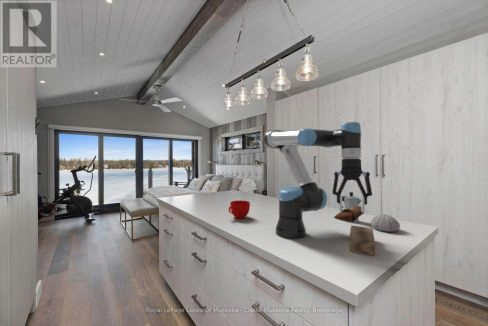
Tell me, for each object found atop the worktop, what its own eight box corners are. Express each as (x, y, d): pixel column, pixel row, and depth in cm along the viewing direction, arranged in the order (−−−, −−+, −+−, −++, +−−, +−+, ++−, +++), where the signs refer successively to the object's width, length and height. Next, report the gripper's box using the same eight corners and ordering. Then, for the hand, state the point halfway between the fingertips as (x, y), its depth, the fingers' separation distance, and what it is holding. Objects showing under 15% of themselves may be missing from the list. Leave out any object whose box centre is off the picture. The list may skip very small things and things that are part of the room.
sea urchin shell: (368, 230, 114) (368, 215, 114) (372, 224, 124) (373, 210, 124) (398, 235, 105) (399, 219, 105) (400, 229, 115) (400, 214, 115)
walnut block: (349, 252, 86) (349, 237, 86) (351, 237, 103) (351, 225, 103) (374, 256, 82) (374, 241, 82) (372, 240, 99) (372, 228, 99)
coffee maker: (364, 221, 129) (364, 192, 129) (360, 224, 123) (361, 194, 122) (338, 217, 139) (339, 190, 139) (334, 219, 132) (334, 191, 132)
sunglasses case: (344, 211, 101) (352, 200, 99) (358, 220, 97) (366, 209, 95) (332, 217, 87) (341, 205, 85) (348, 229, 83) (358, 216, 81)
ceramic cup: (221, 218, 134) (221, 203, 134) (239, 213, 147) (239, 199, 147) (236, 222, 125) (236, 206, 125) (253, 217, 138) (253, 202, 138)
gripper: (326, 158, 90) (326, 211, 89) (381, 157, 83) (382, 215, 83) (324, 159, 97) (325, 208, 96) (375, 158, 90) (376, 211, 90)
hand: (351, 211), depth 90 cm, fingers closed on sunglasses case, 8 cm apart
